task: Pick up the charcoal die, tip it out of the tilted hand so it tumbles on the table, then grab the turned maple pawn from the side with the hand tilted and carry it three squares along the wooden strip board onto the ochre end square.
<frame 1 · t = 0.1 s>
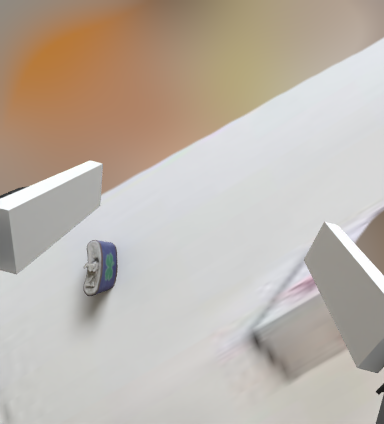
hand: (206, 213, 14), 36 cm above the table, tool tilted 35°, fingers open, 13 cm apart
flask: (110, 265, 48), on the table
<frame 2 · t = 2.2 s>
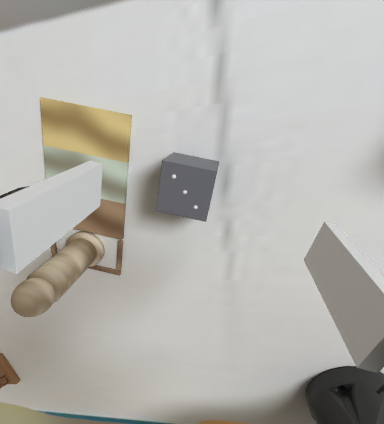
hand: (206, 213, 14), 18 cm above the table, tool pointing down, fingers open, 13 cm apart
die: (192, 178, 32), on the table
board: (86, 190, 35), on the table
gingerbread man figurine: (6, 366, 55), on the table
pawn: (86, 247, 39), on the table
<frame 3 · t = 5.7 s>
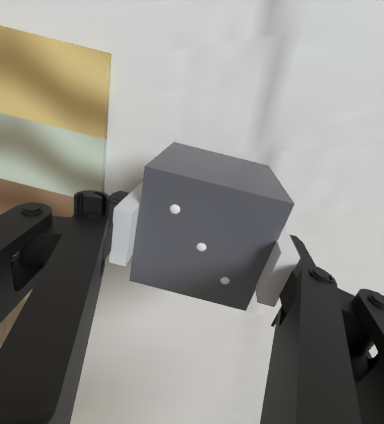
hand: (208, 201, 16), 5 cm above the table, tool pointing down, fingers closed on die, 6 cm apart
die: (209, 197, 16), point 5 cm above the table, touching gripper
board: (41, 181, 22), on the table
pawn: (47, 262, 27), on the table
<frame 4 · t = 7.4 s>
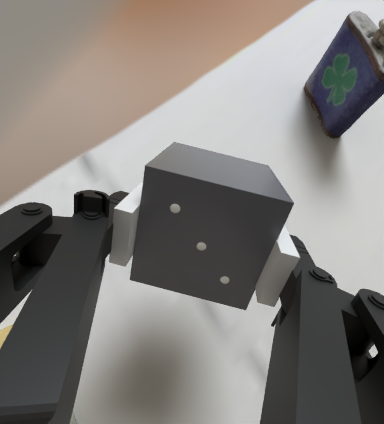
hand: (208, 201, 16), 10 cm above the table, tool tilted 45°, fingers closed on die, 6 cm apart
die: (209, 197, 16), point 9 cm above the table, tilted 45°, touching gripper
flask: (321, 110, 31), on the table
when the fingers open (9 cm above the table, at t = 7.7 s): die drops 9 cm, on the table.
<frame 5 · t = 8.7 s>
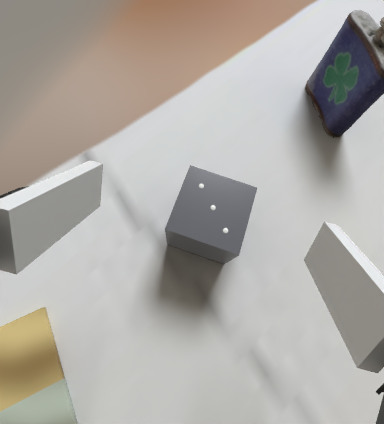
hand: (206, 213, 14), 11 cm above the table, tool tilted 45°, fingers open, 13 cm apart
die: (204, 227, 25), on the table
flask: (323, 109, 31), on the table
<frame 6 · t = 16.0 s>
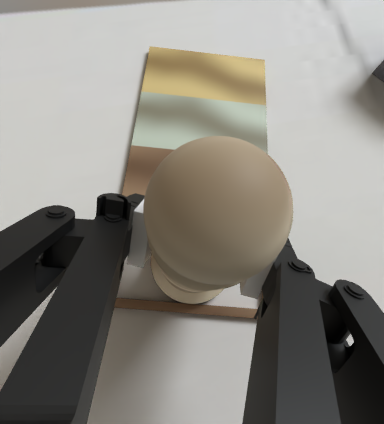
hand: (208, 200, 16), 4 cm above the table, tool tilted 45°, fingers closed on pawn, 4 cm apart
board: (200, 150, 21), on the table
pawn: (191, 261, 18), on the table, touching gripper
when the fingers open (5 cm above the table, at t = 21.3 s): pawn stays where it is, resting on board.
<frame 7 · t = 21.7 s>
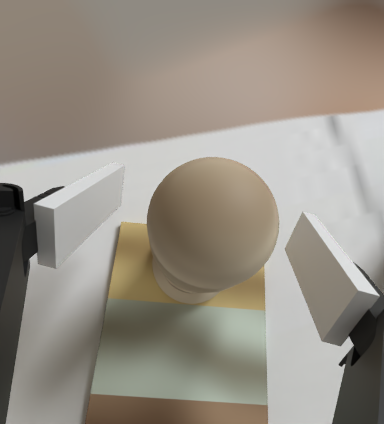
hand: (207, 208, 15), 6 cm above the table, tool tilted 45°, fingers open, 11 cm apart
board: (180, 387, 17), on the table
pawn: (191, 263, 19), point 1 cm above the table, touching board
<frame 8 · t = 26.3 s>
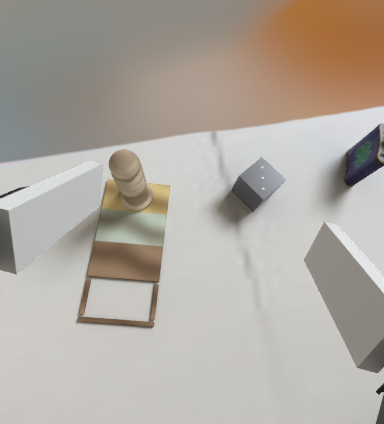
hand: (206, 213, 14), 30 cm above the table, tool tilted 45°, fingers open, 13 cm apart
die: (252, 191, 48), on the table
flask: (350, 168, 51), on the table
board: (129, 241, 43), on the table
pawn: (137, 196, 45), resting on board
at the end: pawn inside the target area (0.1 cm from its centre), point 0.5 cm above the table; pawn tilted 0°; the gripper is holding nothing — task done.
